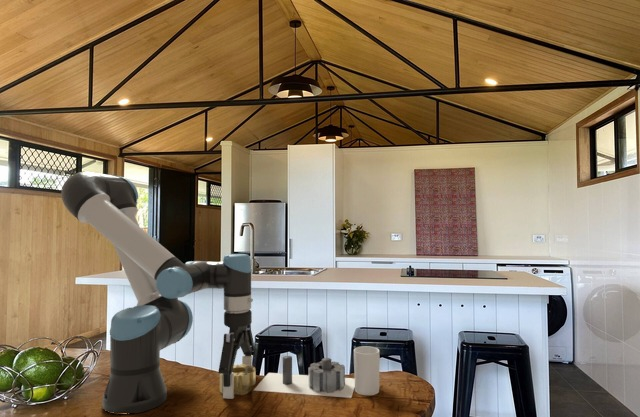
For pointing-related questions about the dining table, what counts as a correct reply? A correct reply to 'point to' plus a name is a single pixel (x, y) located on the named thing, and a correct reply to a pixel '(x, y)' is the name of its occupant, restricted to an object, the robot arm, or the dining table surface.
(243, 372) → the gear
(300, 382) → the board
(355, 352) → the mug
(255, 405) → the dining table surface
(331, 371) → the gear
